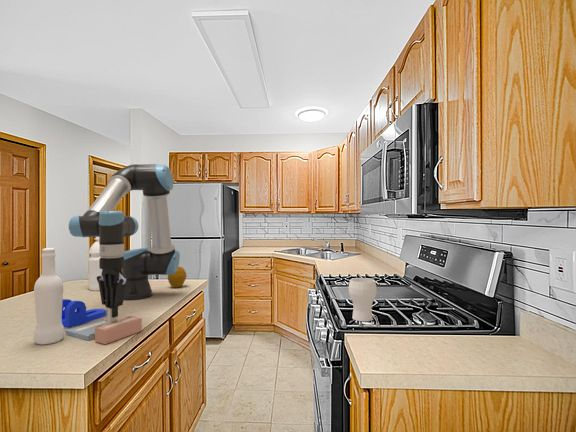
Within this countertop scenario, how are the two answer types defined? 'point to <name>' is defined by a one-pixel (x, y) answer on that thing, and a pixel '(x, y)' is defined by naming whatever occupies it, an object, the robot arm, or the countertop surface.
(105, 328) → the stub
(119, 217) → the robot arm
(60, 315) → the bottle
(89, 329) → the ticket
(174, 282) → the apple
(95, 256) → the bottle
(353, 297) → the cup
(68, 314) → the bracket
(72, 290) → the countertop surface
